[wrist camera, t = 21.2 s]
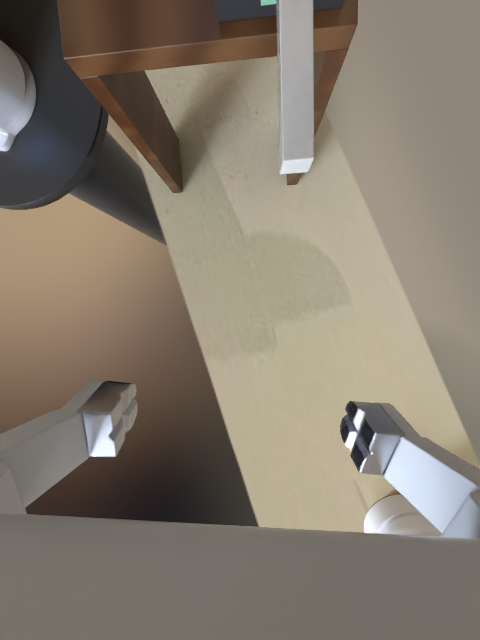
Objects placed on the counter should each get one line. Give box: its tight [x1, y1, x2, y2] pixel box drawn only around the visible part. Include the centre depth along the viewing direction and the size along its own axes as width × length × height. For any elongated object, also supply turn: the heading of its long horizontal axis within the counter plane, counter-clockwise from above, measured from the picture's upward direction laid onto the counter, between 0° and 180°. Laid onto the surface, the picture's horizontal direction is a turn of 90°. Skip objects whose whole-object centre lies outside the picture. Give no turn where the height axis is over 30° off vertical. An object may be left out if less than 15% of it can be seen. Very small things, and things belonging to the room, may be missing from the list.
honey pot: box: [364, 494, 442, 537], centre depth 33 cm, size 13×13×18 cm
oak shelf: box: [57, 0, 358, 193], centre depth 26 cm, size 20×8×22 cm, turn 92°
